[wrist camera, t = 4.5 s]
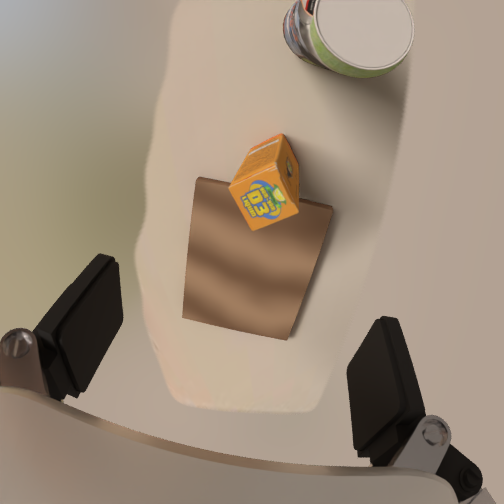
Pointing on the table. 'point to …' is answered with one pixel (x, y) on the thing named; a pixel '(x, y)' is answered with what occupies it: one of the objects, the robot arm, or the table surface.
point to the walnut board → (249, 263)
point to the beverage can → (350, 34)
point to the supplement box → (267, 183)
